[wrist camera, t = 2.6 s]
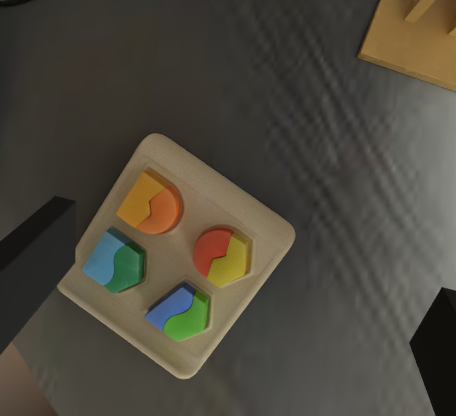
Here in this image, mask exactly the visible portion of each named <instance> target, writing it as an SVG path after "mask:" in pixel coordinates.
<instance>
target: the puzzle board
mask: <svg viewBox="0 0 456 416" xmlns="http://www.w3.org/2000/svg"><path fill="white" fill-rule="evenodd" d="M294 240H295V231H294V228H293V227H292V225H291V224H290V223H289V222H288V221H286V220H285V219H284V218H282V217H281V216H279V215H278V214H276V213H275V212H274V211H272V210H271V209H269V208H268V207H266V206H265V205H263V204H262V203H261V202H259V201H258V200H256V199H255V198H254V197H252V196H251V195H249V194H248V193H246V192H245V191H244V190H242V189H241V188H239V187H238V186H237V185H235V184H234V183H232V182H231V181H229V180H228V179H227V178H225V177H224V176H222V175H221V174H219V173H218V172H217V171H215V170H214V169H212V168H211V167H209V166H208V165H206V164H205V163H204V162H202V161H201V160H199V159H198V158H196V157H195V156H194V155H192V154H191V153H189V152H188V151H186V150H185V149H184V148H182V147H181V146H179V145H178V144H177V143H175V142H174V141H172V140H171V139H169V138H168V137H166V136H164V135H162V134H158V133H153V134H150V135H148V136H147V137H145V138H144V139H143V141H142V142H141V143H140V144H139V146H138V147H137V149H136V151H135V152H134V154H133V156H132V157H131V159H130V160H129V162H128V164H127V165H126V167H125V168H124V170H123V172H122V173H121V175H120V176H119V178H118V180H117V181H116V183H115V184H114V186H113V188H112V189H111V191H110V193H109V194H108V196H107V197H106V199H105V201H104V202H103V204H102V205H101V207H100V209H99V210H98V212H97V214H96V215H95V217H94V218H93V220H92V222H91V223H90V225H89V227H88V228H87V230H86V231H85V233H84V235H83V236H82V238H81V240H80V241H79V243H78V245H77V246H76V263H75V264H74V265H73V266H72V268H71V269H70V270H69V271H68V273H67V274H66V275H65V276H64V277H63V279H62V280H61V281H60V282H59V284H58V285H57V288H58V289H59V291H60V292H61V293H63V294H64V295H65V296H67V297H68V298H70V299H71V300H72V301H74V302H75V303H76V304H78V305H79V306H80V307H82V308H83V309H85V310H86V311H87V312H89V313H90V314H91V315H93V316H94V317H95V318H97V319H98V320H100V321H101V322H102V323H104V324H105V325H106V326H108V327H109V328H111V329H112V330H113V331H115V332H116V333H117V334H119V335H120V336H121V337H123V338H124V339H125V340H127V341H128V342H129V343H131V344H132V345H133V346H135V347H136V348H138V349H139V350H140V351H142V352H143V353H144V354H146V355H147V356H149V357H150V358H151V359H153V360H154V361H155V362H157V363H158V364H159V365H161V366H162V367H163V368H165V369H166V370H167V371H169V372H170V373H171V374H173V375H174V376H176V377H177V378H180V379H188V378H190V377H192V376H193V375H195V374H196V373H197V371H198V370H199V369H200V368H201V366H202V365H203V363H204V362H205V361H206V360H207V358H208V357H209V356H210V354H211V353H212V352H213V350H214V349H215V348H216V346H217V345H218V344H219V342H220V341H221V340H222V338H223V337H224V336H225V334H226V333H227V332H228V330H229V329H230V328H231V326H232V325H233V324H234V322H235V321H236V320H237V318H238V317H239V316H240V314H241V313H242V312H243V310H244V309H245V308H246V307H247V305H248V304H249V302H250V301H251V300H252V298H253V297H254V296H255V294H256V293H257V292H258V290H259V289H260V288H261V286H262V285H263V284H264V282H265V281H266V280H267V278H268V277H269V276H270V274H271V273H272V272H273V270H274V269H275V268H276V266H277V265H278V264H279V262H280V261H281V260H282V258H283V257H284V256H285V254H286V253H287V252H288V250H289V249H290V247H291V246H292V244H293V242H294Z"/></svg>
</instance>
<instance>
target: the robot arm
mask: <svg viewBox="0 0 456 416" xmlns="http://www.w3.org/2000/svg"><path fill="white" fill-rule="evenodd" d="M26 1H29V0H0V6H10V5H17V4H20V3H24V2H26ZM75 263H76V201H74V200H70V199H66V198H61V197H57V196H54V197H53V198H52V199H51V200H50V201H48V202H47V203H46V204H45V205H44V206H42V207H41V208H40V209H39V210H38V211H36V212H35V213H34V214H33V215H32V216H30V217H29V218H28V219H27V220H26V221H24V222H23V223H22V224H21V225H19V226H18V227H17V228H16V229H15V230H13V231H12V232H11V233H10V234H9V235H7V236H6V237H5V238H4V239H3V240H1V241H0V355H1V354H2V352H3V351H4V350H5V349H6V347H7V346H8V345H9V344H10V343H11V341H12V340H13V339H14V338H15V336H16V335H17V334H18V333H19V331H20V330H21V329H22V328H23V327H24V325H25V324H26V323H27V322H28V320H29V319H30V318H31V317H32V315H33V314H34V313H35V312H36V311H37V309H38V308H39V307H40V306H41V304H42V303H43V302H44V301H45V300H46V298H47V297H48V296H49V295H50V293H51V292H52V291H53V290H54V288H55V287H56V286H57V285H58V284H59V282H60V281H61V280H62V279H63V277H64V276H65V275H66V274H67V273H68V271H69V270H70V269H71V268H72V266H73V265H74V264H75ZM409 344H410V346H411V349H412V352H413V355H414V357H415V360H416V363H417V366H418V368H419V371H420V374H421V377H422V379H423V382H424V385H425V388H426V390H427V393H428V396H429V399H430V401H431V404H432V407H433V410H434V412H435V415H436V416H456V291H455V290H451V289H447V288H443V287H442V288H441V290H440V291H439V293H438V295H437V296H436V298H435V300H434V302H433V303H432V305H431V307H430V308H429V310H428V312H427V313H426V315H425V317H424V319H423V320H422V322H421V324H420V325H419V327H418V329H417V330H416V332H415V334H414V336H413V337H412V339H411V341H410V342H409Z"/></svg>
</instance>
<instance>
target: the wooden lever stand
mask: <svg viewBox="0 0 456 416" xmlns="http://www.w3.org/2000/svg"><path fill="white" fill-rule="evenodd" d="M357 58H359V59H362V60H365V61H368V62H371V63H374V64H377V65H380V66H383V67H386V68H389V69H392V70H394V71H397V72H400V73H403V74H406V75H409V76H412V77H415V78H418V79H421V80H424V81H427V82H430V83H432V84H435V85H438V86H441V87H444V88H447V89H450V90H453V91H456V0H379V2H378V4H377V7H376V9H375V12H374V15H373V17H372V20H371V22H370V25H369V27H368V30H367V32H366V35H365V38H364V40H363V43H362V45H361V48H360V50H359V53H358V55H357Z"/></svg>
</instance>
